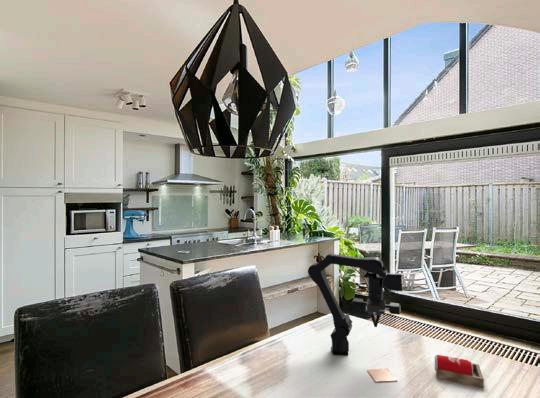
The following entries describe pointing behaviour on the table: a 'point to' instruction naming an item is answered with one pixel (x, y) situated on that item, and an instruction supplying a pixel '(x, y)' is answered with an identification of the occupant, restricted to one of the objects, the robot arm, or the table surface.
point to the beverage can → (453, 364)
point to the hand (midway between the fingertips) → (375, 326)
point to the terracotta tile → (381, 375)
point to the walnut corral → (463, 376)
